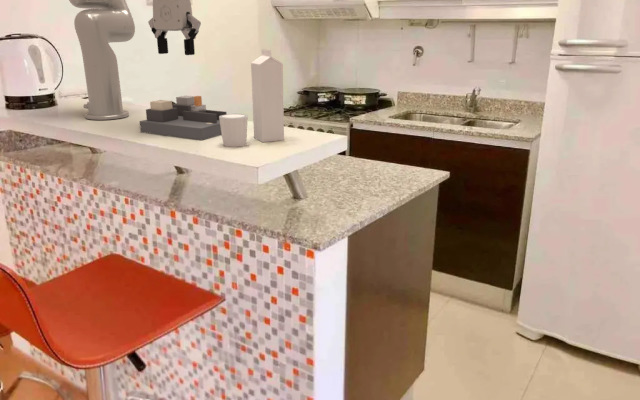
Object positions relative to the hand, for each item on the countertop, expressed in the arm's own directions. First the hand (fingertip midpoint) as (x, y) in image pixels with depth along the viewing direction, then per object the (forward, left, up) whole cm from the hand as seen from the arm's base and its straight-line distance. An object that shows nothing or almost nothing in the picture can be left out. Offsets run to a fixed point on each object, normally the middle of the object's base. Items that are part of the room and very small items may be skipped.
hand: (176, 54), depth 143 cm
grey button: (-2, +5, -16) cm, 16 cm away
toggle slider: (+6, 0, -17) cm, 18 cm away
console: (+4, 0, -20) cm, 21 cm away
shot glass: (+25, -9, -20) cm, 33 cm away
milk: (+29, 0, -20) cm, 35 cm away
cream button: (-2, -5, -16) cm, 17 cm away
